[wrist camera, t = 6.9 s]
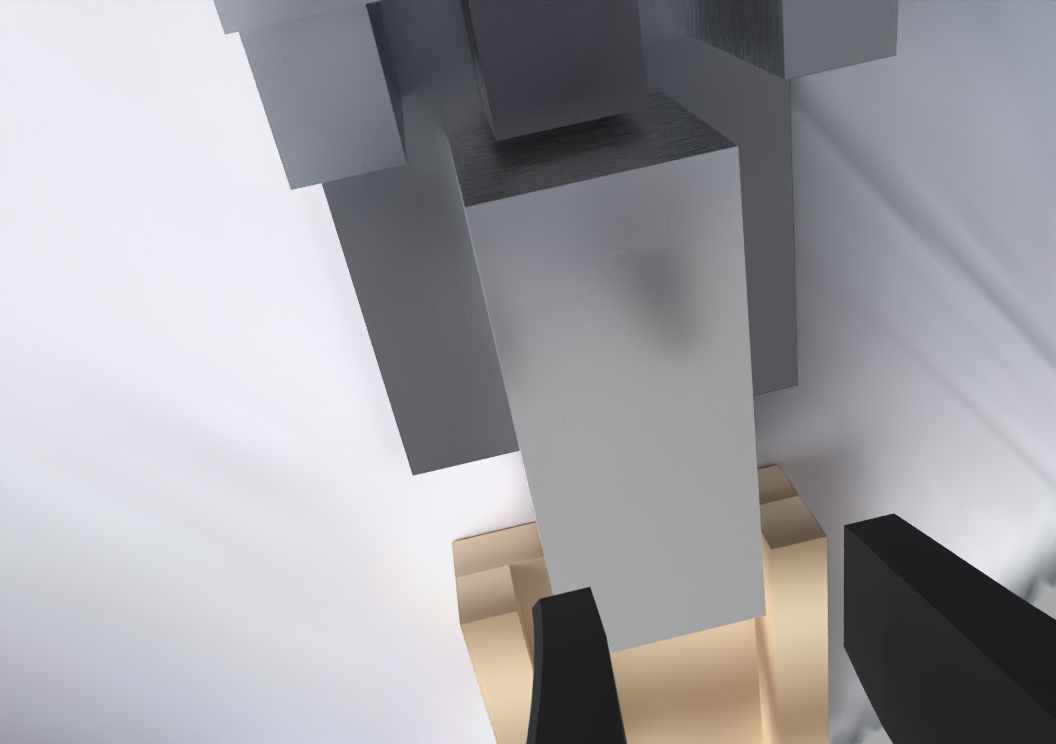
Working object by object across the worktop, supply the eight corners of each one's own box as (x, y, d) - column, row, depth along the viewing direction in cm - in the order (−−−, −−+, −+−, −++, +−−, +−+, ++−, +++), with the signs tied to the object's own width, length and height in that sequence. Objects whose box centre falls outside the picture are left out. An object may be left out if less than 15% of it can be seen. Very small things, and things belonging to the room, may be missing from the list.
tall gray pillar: (447, 138, 15) (464, 207, 12) (661, 90, 15) (738, 146, 12) (538, 533, 19) (568, 663, 16) (702, 493, 20) (766, 615, 16)
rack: (452, 541, 20) (460, 624, 18) (778, 464, 20) (827, 536, 18) (529, 802, 25) (543, 892, 23) (790, 737, 25) (829, 820, 23)
